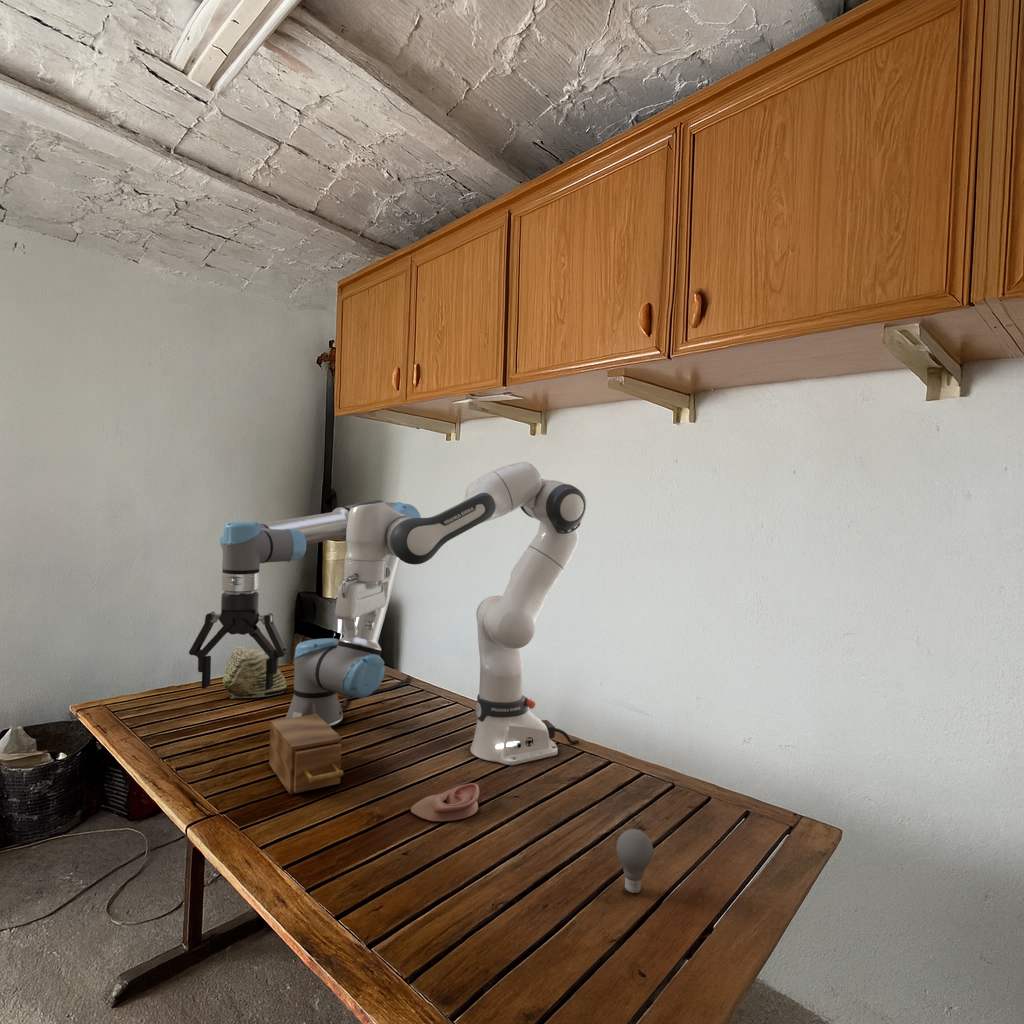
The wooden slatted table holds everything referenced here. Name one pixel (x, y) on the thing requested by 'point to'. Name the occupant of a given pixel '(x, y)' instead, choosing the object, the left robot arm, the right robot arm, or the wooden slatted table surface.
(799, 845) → the wooden slatted table surface
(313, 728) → the cabinet
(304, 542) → the left robot arm
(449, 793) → the anatomical model
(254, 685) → the fossil
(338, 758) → the drawer
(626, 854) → the light bulb
